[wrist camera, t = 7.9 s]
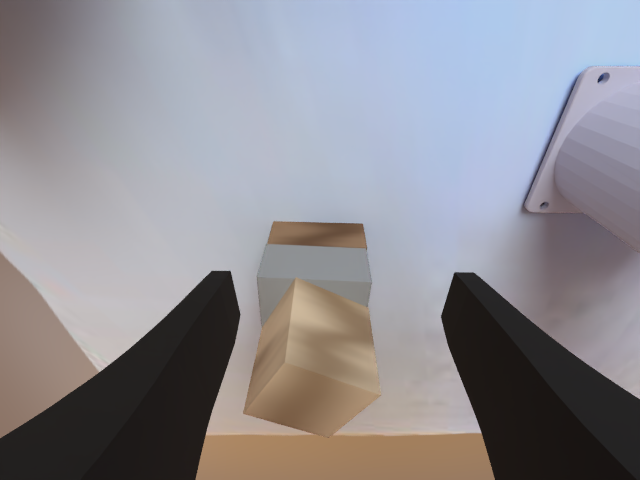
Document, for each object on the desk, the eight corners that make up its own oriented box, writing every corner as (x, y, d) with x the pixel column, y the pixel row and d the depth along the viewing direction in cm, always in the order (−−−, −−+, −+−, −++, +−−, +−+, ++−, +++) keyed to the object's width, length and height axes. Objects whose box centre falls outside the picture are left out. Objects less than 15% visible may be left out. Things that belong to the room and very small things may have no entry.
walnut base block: (362, 221, 21) (367, 247, 19) (355, 286, 25) (358, 315, 22) (274, 219, 21) (267, 244, 19) (279, 284, 25) (273, 313, 22)
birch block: (368, 307, 17) (381, 395, 13) (328, 351, 20) (328, 438, 15) (295, 276, 16) (284, 362, 12) (262, 327, 18) (243, 413, 14)
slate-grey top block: (366, 248, 19) (371, 281, 16) (355, 316, 22) (359, 353, 20) (266, 243, 19) (256, 277, 16) (271, 313, 22) (264, 349, 20)
